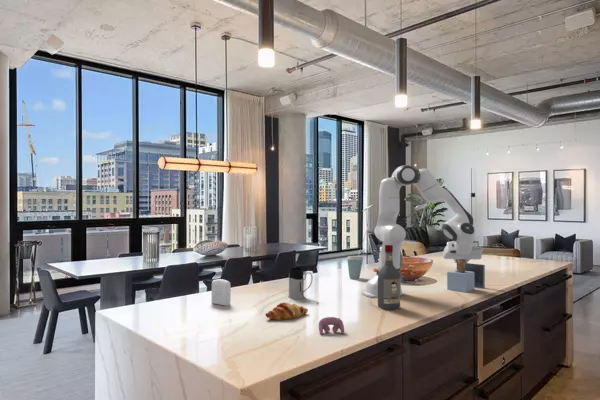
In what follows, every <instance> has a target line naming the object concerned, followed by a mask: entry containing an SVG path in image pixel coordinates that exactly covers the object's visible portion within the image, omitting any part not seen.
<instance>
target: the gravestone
mask: <svg viewBox="0 0 600 400" xmlns="http://www.w3.org/2000/svg"><path fill="white" fill-rule="evenodd" d="M211 281H212V282H211V300H210V301H211V304H213V305H220V306H225V307H227V306H230V305H231V300H232V299H231V297H232V296H231V295H232V294H231V291H232V289H231V288H232V287H231V286H232V285H231V282H230V281H229V280H226V279H223V278H222V279H221V278H217V279H213V280H211Z"/></svg>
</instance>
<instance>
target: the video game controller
mask: <svg viewBox="0 0 600 400" xmlns="http://www.w3.org/2000/svg"><path fill="white" fill-rule="evenodd" d="M331 325H332V329H331V327H330V326H331ZM331 330H332V332H334V333H337V332H338V331H340V333H341V334H342V335H344V334H345V326H344V322H343V320H342V319H341V318H340V317H339V318H338V317H335V316H327V317H324V318H321V319H320V320H319V322H318V331H319V334H320V335H321V334H322V335H323V334H324V332H325V333H329V332H330V331H331Z"/></svg>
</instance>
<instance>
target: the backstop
mask: <svg viewBox="0 0 600 400" xmlns="http://www.w3.org/2000/svg"><path fill="white" fill-rule="evenodd" d="M485 269H486V265H485V264H480V263H470V262H469V263H465V271H471V272H474V288H477V289H485V288H486V286H485V285H486V284H485V283H486V282H485V281H486V279H485V278H486V276H485V275H486V273H485V272H486V270H485Z"/></svg>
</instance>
